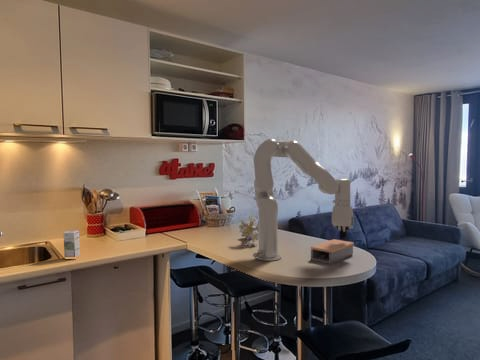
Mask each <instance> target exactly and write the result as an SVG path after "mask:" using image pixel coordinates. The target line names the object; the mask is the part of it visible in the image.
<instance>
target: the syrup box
mask: <svg viewBox="0 0 480 360" xmlns="http://www.w3.org/2000/svg"><path fill="white" fill-rule="evenodd" d="M62 233H63V251H64V258H65V257H76V256H78V255H80V256H81V250H80V249H81V247H80V230H78V229H76V230H75V229H74V230H71V229H70V230H65V231H64V232H62Z"/></svg>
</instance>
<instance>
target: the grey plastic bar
mask: <svg viewBox="0 0 480 360" xmlns="http://www.w3.org/2000/svg"><path fill="white" fill-rule="evenodd" d="M326 258H329V252H328V253H325V254H322V255H321V259H326Z"/></svg>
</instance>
